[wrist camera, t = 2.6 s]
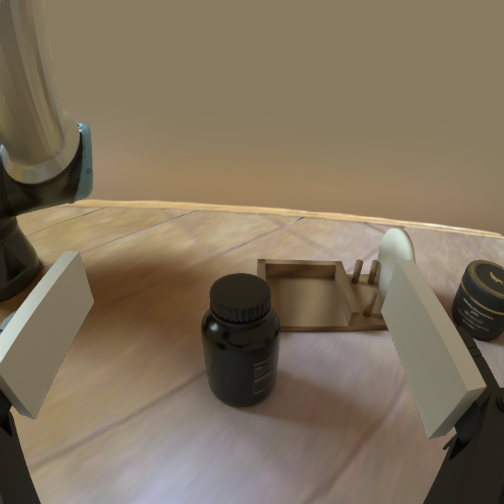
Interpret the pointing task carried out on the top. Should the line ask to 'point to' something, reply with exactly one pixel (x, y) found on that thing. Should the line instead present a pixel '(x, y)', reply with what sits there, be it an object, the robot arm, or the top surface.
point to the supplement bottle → (241, 340)
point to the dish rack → (334, 289)
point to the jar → (481, 300)
